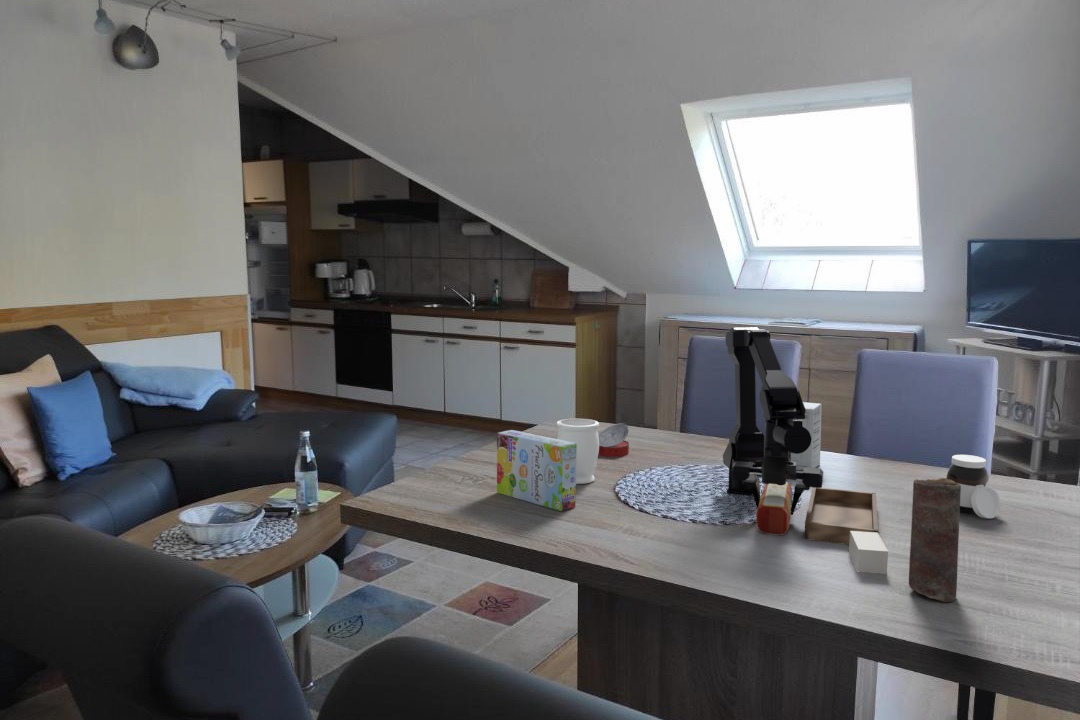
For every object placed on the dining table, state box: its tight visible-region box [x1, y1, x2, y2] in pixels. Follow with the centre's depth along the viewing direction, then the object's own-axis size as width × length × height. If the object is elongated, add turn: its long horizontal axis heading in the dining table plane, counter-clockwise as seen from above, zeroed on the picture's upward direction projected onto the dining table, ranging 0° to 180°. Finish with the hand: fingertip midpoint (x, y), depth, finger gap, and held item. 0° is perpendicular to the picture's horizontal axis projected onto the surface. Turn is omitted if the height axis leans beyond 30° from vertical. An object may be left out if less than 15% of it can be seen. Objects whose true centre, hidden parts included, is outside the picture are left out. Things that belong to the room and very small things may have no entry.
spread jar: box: [945, 454, 1002, 519], centre depth 181 cm, size 12×11×12 cm
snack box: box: [496, 429, 577, 512], centre depth 189 cm, size 21×6×15 cm, turn 47°
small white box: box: [848, 531, 889, 575], centre depth 152 cm, size 5×10×4 cm, turn 168°
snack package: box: [755, 481, 793, 536], centre depth 176 cm, size 21×7×7 cm, turn 160°
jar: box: [556, 417, 600, 485], centre depth 205 cm, size 11×10×15 cm
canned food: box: [598, 422, 630, 458], centre depth 233 cm, size 11×10×10 cm
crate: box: [803, 487, 879, 545], centre depth 174 cm, size 14×27×4 cm, turn 159°
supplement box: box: [791, 401, 823, 471], centre depth 219 cm, size 10×9×17 cm
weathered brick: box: [908, 477, 961, 603], centre depth 137 cm, size 8×7×20 cm
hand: (775, 512), depth 176 cm, fingers closed on snack package, 6 cm apart
